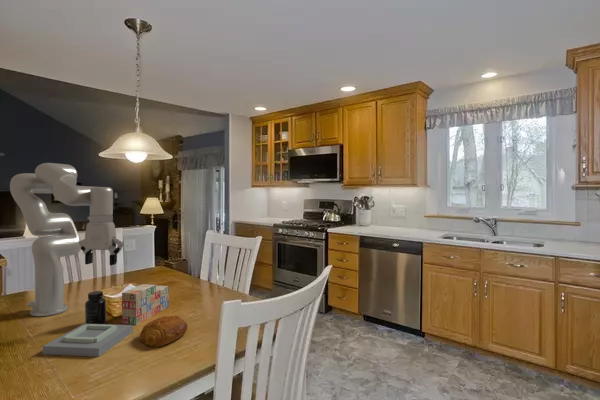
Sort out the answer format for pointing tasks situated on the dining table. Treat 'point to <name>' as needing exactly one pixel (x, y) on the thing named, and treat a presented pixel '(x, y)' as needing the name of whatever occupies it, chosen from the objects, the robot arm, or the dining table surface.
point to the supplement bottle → (95, 308)
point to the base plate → (88, 340)
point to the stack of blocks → (143, 302)
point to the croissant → (163, 331)
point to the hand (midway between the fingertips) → (101, 264)
